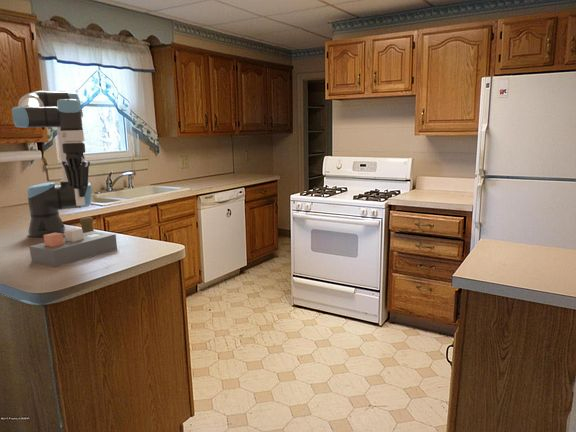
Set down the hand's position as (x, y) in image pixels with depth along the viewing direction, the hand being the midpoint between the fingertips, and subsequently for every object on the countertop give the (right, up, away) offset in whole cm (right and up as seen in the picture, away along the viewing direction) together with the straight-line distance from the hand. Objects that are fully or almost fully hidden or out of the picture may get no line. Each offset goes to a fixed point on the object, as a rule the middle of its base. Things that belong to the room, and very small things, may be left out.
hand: (80, 205), depth 163 cm
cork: (-6, -16, +19) cm, 25 cm away
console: (-2, -19, 0) cm, 19 cm away
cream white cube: (-2, -13, -1) cm, 13 cm away
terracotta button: (-6, -15, -8) cm, 18 cm away
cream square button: (+2, -16, +7) cm, 17 cm away
